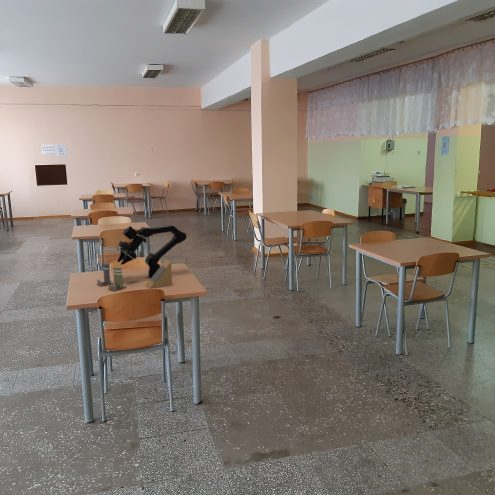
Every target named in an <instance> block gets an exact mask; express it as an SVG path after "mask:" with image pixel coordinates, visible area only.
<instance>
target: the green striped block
mask: <svg viewBox="0 0 495 495" xmlns="http://www.w3.org/2000/svg"><path fill="white" fill-rule="evenodd" d="M112 271H113V272H112V274H113V286H116V287H120V288H121V287H123V286H124V278H123V268H122V266H121V267H120V266H113V268H112Z"/></svg>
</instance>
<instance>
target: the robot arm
mask: <svg viewBox="0 0 495 495" xmlns="http://www.w3.org/2000/svg"><path fill="white" fill-rule="evenodd" d="M163 233H171V234H173V235H172V238H171V239H170V240H169V241H168V242H167V243H165V244H164V245H163V246H162V247H161V248H159V249H158V251H156V252H155V253H152V252H150V253H149V254H148V255H147V256H146V258H145V259H144V263H145V264H146V265H147V266H148V270H147V273H148V277H149V279H151V278H152V276H153V275H154V274H155V273H156V272H157V270H158V269H159V268H160V267H161V265H160V263H159V262H160V259H161V258H162V257H164V256H165V254H167V253H168V252H170V251H171V250H172V249H173V248H174V247H176V245H178V244H181V243H182V242H185V241H186V239H187V234H186V233H185V232H183V231H181V230H180V229H178V228H176V226H175V225H172V224H170V225H163V226H157V227H146V226H142V227H140V228H139V229H136V230H135V229H134V228H133V226H131V225H129V226H128V227H126V228H125V229H124V230H123V233H122V235H123V236H125V237H126V238H127V239H129V240H130V241H129V242H128V241H122V240H119V243H118V246H119V247H120V248H119V252H120V254H119V255H118V258H117V261H116V262H117V263H120V266H124V265H125V264H127V263H128V262H131V261H133V260H136V259H137V254H135V253H136V251H137V250H139V247H140V246H141V245H142V243H145V244H147V238H149V237H152V236H154V235H157V234H163ZM118 246H117V247H118Z"/></svg>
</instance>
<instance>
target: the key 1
mask: <svg viewBox="0 0 495 495" xmlns="http://www.w3.org/2000/svg"><path fill="white" fill-rule="evenodd" d="M102 271H103V282H105V283H106V284H107V283H110V281H111V275H110V265H109V263H108V262H103V263H102Z"/></svg>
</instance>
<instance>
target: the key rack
mask: <svg viewBox="0 0 495 495" xmlns="http://www.w3.org/2000/svg"><path fill="white" fill-rule="evenodd" d="M96 280H97V285H98V287H106V286H108V290H109V291H112V292H119V291H121V290H124V289H127V286H126V285H123V287H121V288H120V287H116V286H114V281H112V280H110V283H107V284H106V283H105V282H104V281H101V280H100V279H96Z"/></svg>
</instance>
